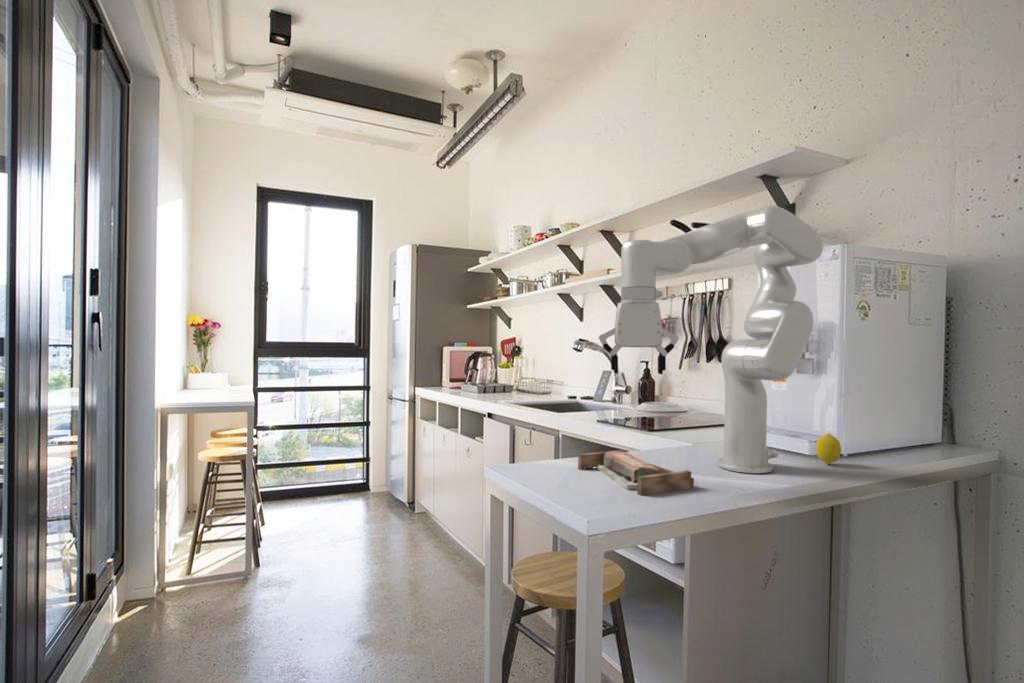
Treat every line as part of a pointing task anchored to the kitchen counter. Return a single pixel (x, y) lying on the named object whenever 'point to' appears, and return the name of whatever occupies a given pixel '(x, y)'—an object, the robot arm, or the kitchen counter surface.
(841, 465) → the kitchen counter surface
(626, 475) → the packaged product
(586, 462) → the wooden rolling pin rack
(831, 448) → the lemon
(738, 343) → the robot arm
